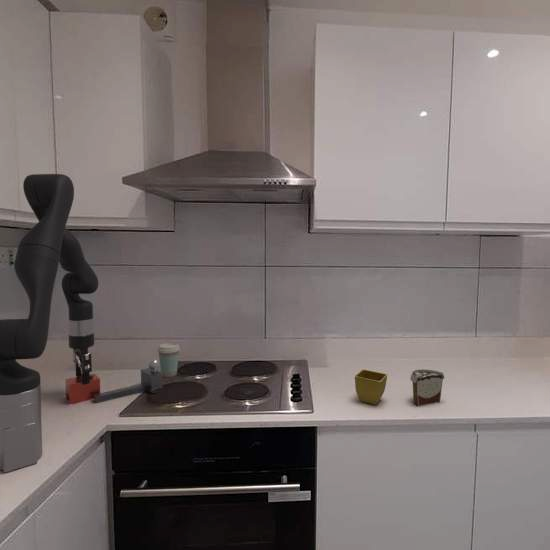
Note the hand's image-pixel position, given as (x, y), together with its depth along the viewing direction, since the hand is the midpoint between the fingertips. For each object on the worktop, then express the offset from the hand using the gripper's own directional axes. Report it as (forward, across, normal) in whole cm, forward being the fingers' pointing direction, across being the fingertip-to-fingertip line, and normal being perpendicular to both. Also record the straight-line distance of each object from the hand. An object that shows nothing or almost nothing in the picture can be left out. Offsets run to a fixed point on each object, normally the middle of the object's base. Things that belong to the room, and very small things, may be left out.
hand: (82, 379), depth 120 cm
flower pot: (+6, +63, +74) cm, 97 cm away
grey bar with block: (+6, +6, +13) cm, 16 cm away
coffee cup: (+6, -3, +32) cm, 33 cm away
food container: (+6, +74, +88) cm, 115 cm away
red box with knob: (+6, 0, 0) cm, 6 cm away
